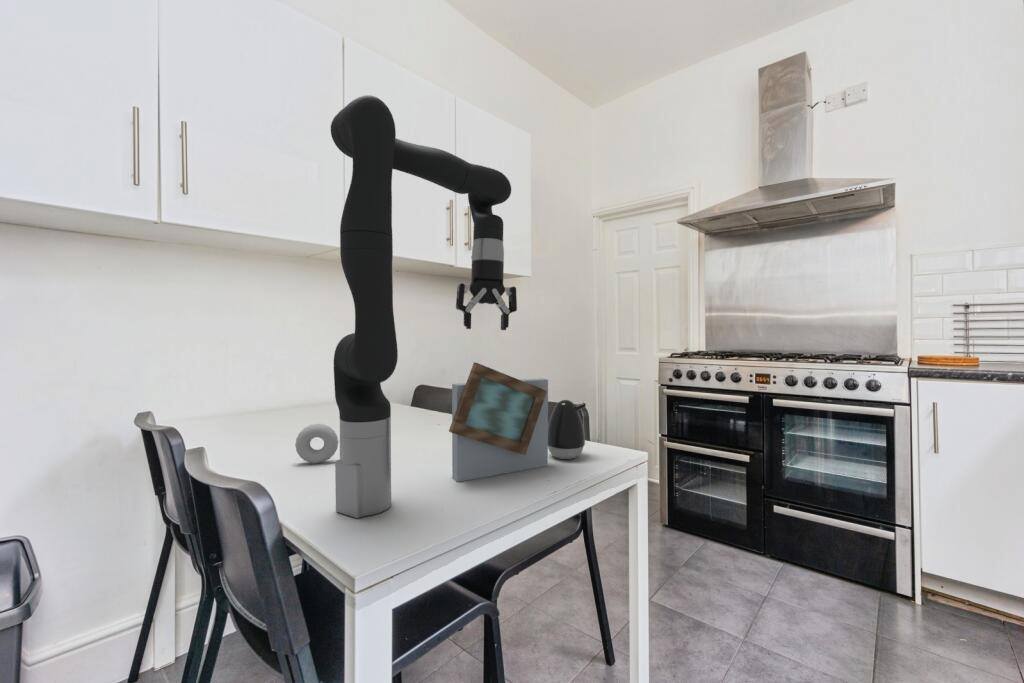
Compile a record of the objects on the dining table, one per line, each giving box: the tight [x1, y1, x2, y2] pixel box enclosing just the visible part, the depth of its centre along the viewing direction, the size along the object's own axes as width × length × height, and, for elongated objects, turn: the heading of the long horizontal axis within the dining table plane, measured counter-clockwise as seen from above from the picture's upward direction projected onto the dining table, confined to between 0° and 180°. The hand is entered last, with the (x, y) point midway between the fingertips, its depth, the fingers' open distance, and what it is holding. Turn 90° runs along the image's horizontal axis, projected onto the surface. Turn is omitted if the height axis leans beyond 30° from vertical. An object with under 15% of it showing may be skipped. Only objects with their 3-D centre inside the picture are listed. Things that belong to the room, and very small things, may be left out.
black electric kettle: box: [548, 399, 587, 460], centre depth 117 cm, size 10×10×15 cm
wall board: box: [451, 377, 549, 482], centre depth 105 cm, size 24×3×22 cm, turn 119°
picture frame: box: [448, 362, 547, 455], centre depth 101 cm, size 20×2×16 cm, turn 120°
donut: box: [295, 423, 339, 464], centre depth 111 cm, size 10×3×10 cm, turn 104°
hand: (486, 329), depth 104 cm, fingers open, 8 cm apart
